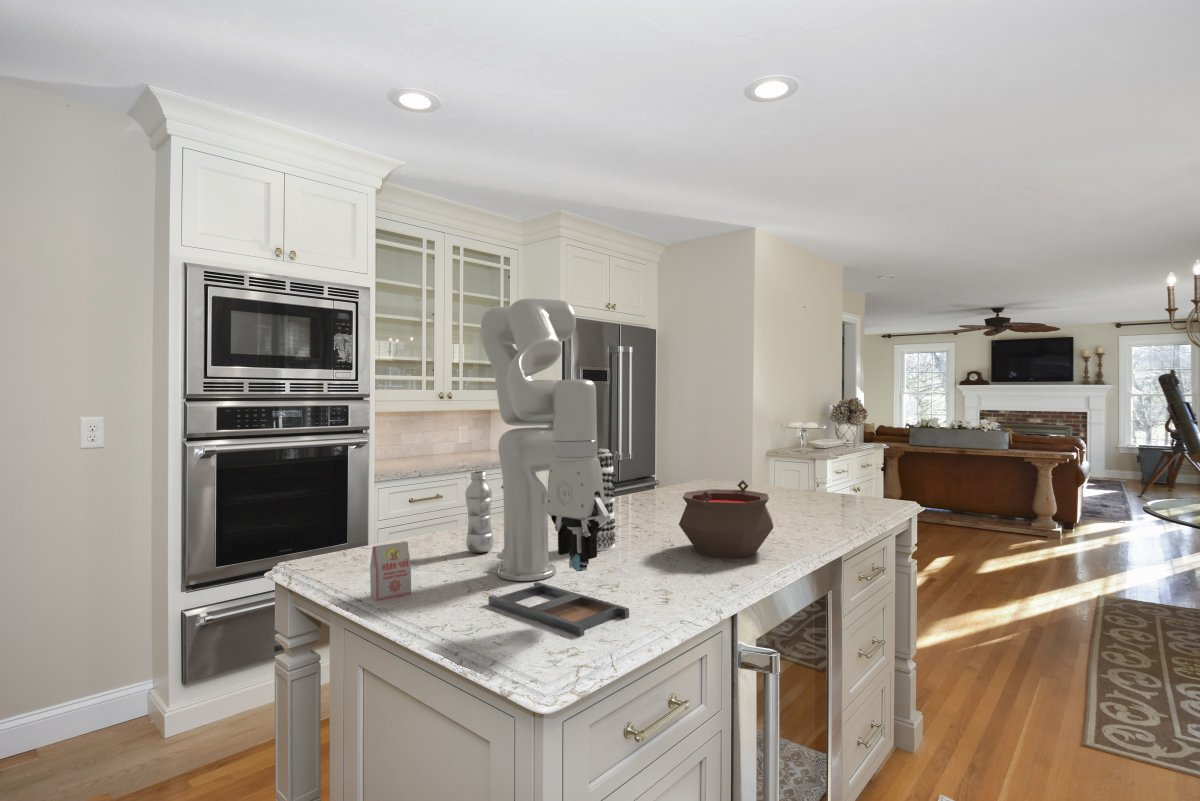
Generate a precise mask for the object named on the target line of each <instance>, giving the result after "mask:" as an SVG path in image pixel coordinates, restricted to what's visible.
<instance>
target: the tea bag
mask: <svg viewBox="0 0 1200 801" xmlns="http://www.w3.org/2000/svg"><path fill="white" fill-rule="evenodd" d="M411 565H412V562H411V557H410V550H409V542H408V541H402V542H401V541H400V542H394V543H389V544H388V543H387V544H382V545H381V544H380V545H374V546H372V550H371V557H370V565H369V572H370V573H369V575H370V581H369V582H370V584H369V585H370V597H371V598H373V599H374V600H375V601H378V602H379V601H381V600H382V601H383V600H387V599H388V600H389V599H392V598H397V597H401V596H407V595H411V594H412V566H411Z"/></svg>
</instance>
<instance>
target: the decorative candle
mask: <svg viewBox="0 0 1200 801" xmlns="http://www.w3.org/2000/svg"><path fill="white" fill-rule="evenodd" d="M613 456H614V454H612V453H611V451H610V449H608V448H602V447H599V448H598V447H597V459H599V461H600V466H601V471H602V478H603V488H604V506H605V508H606V510H607V511H608V513H609V515H610V520H609V521H608V522H607V523H606V524H604V526H603V527H602V529H601V530H600V533H599V534H597V552H603V551H611V550H613V549H615V548H616V544H615V543H616V538H615V537H616V532H615V531H614V530H615V528H616V525H614V524H615V522H616V519H615V512H614V502H615V501H616V499H615V498H614V497H616V494H615V493H614V491H616V488H615V487H614V486H613V484H614V483H616V479H614V478H615V477H616V475H617V474H616V473H615V472H614V466H613ZM597 518H598V516H597ZM589 526H590V525H589ZM583 536H584V532H583Z"/></svg>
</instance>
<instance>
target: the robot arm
mask: <svg viewBox="0 0 1200 801" xmlns="http://www.w3.org/2000/svg"><path fill="white" fill-rule="evenodd" d="M576 327H577V317H576V313H575V311H574V309H573V307H572V306H571V304H569V303H568V302H567V301H565V300H561V299H546V298H545V299H543V298H522V299H519V300H516V301H515V302H513V303H512V304H511V305H510V306H499V307H497V306H496V307H493V308H490V309H489V310H486V311H485V312H484V313H483V315H482V318H481V323H480V336H481V342H482V345H483V349H484V352H485V354H486V356H487V358H488V361H489V362H490V365H491V368H492V370H493V374H494V378H495V379H494V380H495V387H496V395H497V399H498V406H499V412H500V417H501V419H502V421H503V422H504V423H505V424H507V425H509V426H513V427H514V426H515V427H517V428H513V429H509V430H507V431H505V432H503V434H502V435H501V436H500V438H499V440H498V445H497V447H498V458H499V462H500V467H501V476H502V488H503V491H502V492H503V544H504V545H503V546H504V547H503V549H502V550H501V552H498V553H497V554H496V558H497V559H499V560H502V565H500V566H499V567H498V569H497V576H498V577H499V578H501V579H503V580H508V581H512V582H513V581H515V582H529V581H537V580H538V581H539V580H544V579H547V578H549V577H550V578H551V577H552V576H554V575H555V574H556V572H557V568H556V566H555V564H553V563H551V562H550V561H549V560H550V559H549V517H550V518H551V521H552V523H553V525H554V530H555V531H556V532H557V554H558V555H559V556H563V555H567V554H568V555H569V547H571V540H572V529H568V528H567V526H564V525H563V519H562V517H565V518H571V519H578V520H581V523H582V528H583V532H584V536H581V555H582V560H592V559H596V558H597V557H598V551H597V534H599V533H600V530H601V529H602V527H603V526H604V524H606V523H607V522H608V521H609V520H610V515H609V513H608V511H607V510H606V508H605V506H604V488H603V478H602V471H601V466H600V461H599V459H597V448H598V431H597V430H598V428H597V426H598V424H597V422H598V421H597V420H598V419H597V417H598V416H597V387H596V384H595V382H594V381H592V380H590V379H585V378H582V379H581V378H580V379H578V378H577V379H560V380H559V379H534V377H533V375H535V374H538V373H540V372H542V371H545V370H547V369H549V368H551V367H552V366H554V364H555V363H557V362H558V360H559V359H560V357H561V354H562V344H561V343H563V342H565V341H567V340H569V339H571V337H573V335H574V333H575V331H576ZM514 345H515V346H516V348H515V346H514ZM531 426H532V427H531ZM533 426H534V427H533ZM535 426H538V427H535ZM539 426H547V427H539ZM518 427H519V428H518ZM546 471H548V477H547V489H546V486H545V484H544V483H543V482H542V481H541V479H540V478H539V477H538V475H537V473H538V472H546ZM588 516H589V517H588ZM597 516H598V518H597ZM589 520H590V521H591V525H590V526H589V522H588V521H589Z"/></svg>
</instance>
